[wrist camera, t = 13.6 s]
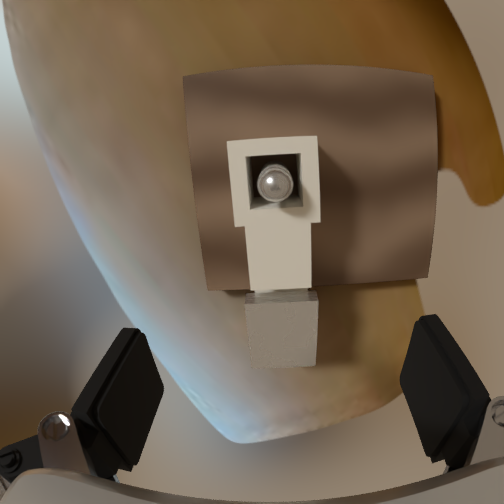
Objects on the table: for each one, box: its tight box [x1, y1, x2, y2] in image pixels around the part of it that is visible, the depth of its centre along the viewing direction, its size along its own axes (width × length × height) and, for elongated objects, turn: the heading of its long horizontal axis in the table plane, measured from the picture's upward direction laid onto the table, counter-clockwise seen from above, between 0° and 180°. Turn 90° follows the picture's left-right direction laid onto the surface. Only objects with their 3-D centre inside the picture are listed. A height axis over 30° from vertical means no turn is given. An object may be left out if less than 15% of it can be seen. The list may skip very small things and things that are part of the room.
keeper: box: [245, 290, 318, 368], centre depth 24 cm, size 6×5×6 cm
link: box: [227, 136, 320, 293], centre depth 21 cm, size 13×5×4 cm, turn 4°
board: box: [183, 65, 438, 290], centre depth 22 cm, size 17×19×2 cm
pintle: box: [257, 161, 293, 202], centre depth 18 cm, size 2×2×6 cm
